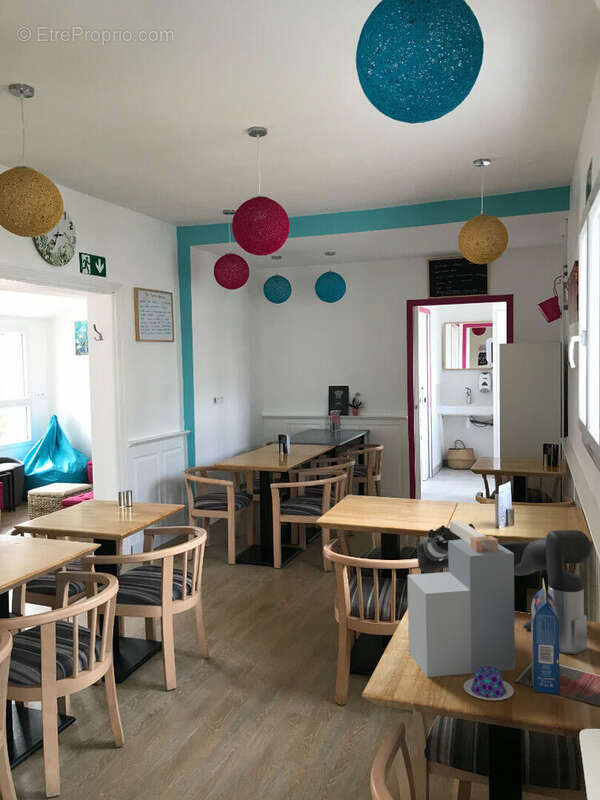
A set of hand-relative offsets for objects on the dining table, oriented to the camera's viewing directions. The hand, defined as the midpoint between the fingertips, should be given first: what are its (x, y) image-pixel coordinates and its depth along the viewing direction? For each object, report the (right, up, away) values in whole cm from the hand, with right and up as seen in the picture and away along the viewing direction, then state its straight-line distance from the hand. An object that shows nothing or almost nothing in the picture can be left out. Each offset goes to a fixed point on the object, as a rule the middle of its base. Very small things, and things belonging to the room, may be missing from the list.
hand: (458, 527), depth 200 cm
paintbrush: (+30, -32, +7) cm, 44 cm away
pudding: (0, -35, -32) cm, 47 cm away
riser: (-3, -33, -15) cm, 37 cm away
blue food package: (+15, -34, -29) cm, 47 cm away
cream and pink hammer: (+1, -2, -9) cm, 9 cm away
